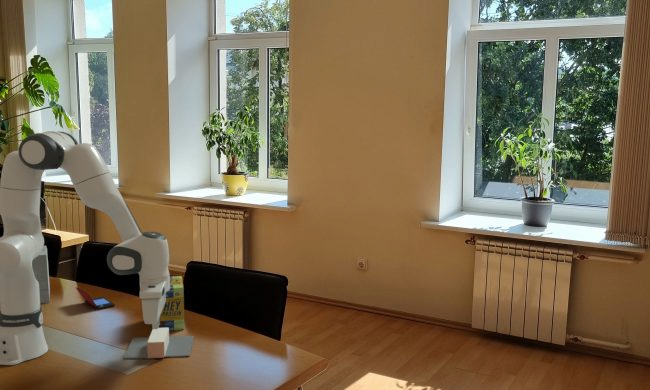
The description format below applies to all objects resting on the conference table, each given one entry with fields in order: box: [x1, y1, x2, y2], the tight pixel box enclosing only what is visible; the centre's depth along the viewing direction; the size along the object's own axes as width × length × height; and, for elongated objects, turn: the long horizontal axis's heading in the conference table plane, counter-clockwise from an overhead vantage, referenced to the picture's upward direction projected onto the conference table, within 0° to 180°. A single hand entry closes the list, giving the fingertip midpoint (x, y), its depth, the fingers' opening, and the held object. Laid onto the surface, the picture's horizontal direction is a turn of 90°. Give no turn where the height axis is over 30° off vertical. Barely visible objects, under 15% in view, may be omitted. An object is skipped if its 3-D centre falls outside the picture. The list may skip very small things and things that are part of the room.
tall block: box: [147, 328, 170, 359], centre depth 190 cm, size 5×5×12 cm
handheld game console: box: [75, 286, 116, 311], centre depth 232 cm, size 12×11×7 cm
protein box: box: [159, 275, 185, 332], centre depth 213 cm, size 10×15×16 cm
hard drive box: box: [32, 245, 51, 305], centre depth 238 cm, size 16×8×20 cm, turn 25°
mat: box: [123, 335, 195, 360], centre depth 193 cm, size 20×16×1 cm
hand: (156, 327), depth 185 cm, fingers closed
